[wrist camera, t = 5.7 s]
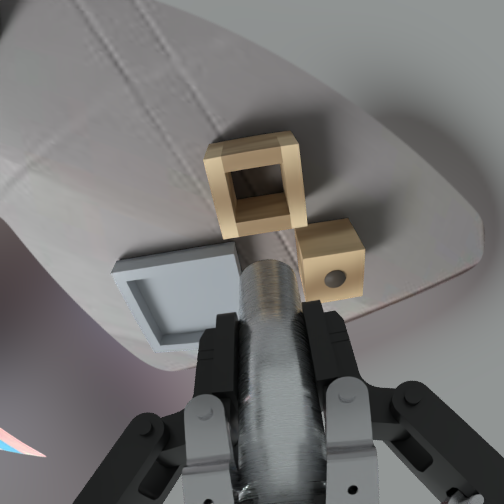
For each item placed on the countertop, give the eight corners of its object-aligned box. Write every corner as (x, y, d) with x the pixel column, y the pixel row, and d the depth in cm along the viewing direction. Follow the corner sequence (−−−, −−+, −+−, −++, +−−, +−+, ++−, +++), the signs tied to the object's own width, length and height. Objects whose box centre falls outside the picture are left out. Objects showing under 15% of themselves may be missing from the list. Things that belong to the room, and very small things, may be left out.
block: (294, 226, 29) (303, 259, 24) (348, 218, 28) (365, 249, 24) (298, 269, 32) (306, 306, 27) (348, 262, 31) (362, 296, 27)
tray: (116, 260, 30) (110, 273, 29) (234, 241, 29) (233, 254, 28) (157, 339, 37) (154, 352, 35) (255, 329, 36) (256, 342, 34)
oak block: (209, 144, 24) (203, 159, 21) (290, 130, 24) (298, 143, 20) (225, 214, 28) (223, 239, 24) (299, 202, 27) (307, 226, 24)
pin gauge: (233, 264, 14) (228, 510, 6) (293, 255, 14) (338, 500, 6) (244, 307, 15) (248, 521, 7) (298, 299, 15) (332, 512, 7)
